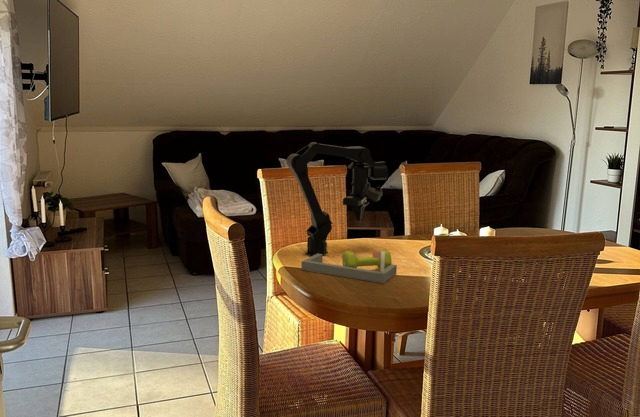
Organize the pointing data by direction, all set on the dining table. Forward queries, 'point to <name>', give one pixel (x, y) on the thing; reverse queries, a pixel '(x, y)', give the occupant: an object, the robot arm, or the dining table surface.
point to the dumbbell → (365, 260)
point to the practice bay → (350, 269)
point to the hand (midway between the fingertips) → (359, 220)
